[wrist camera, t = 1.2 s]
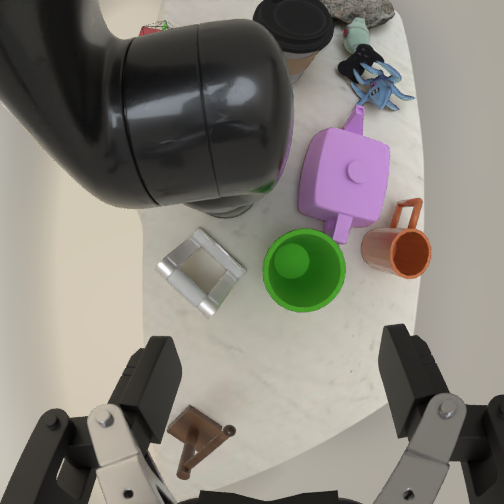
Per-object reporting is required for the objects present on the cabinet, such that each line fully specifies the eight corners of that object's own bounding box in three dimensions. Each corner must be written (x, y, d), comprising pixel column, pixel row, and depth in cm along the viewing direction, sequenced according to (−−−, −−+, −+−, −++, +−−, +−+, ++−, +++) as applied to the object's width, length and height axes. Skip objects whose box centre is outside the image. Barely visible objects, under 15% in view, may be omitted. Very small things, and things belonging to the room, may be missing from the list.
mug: (389, 273, 45) (422, 284, 35) (355, 261, 45) (383, 270, 35) (409, 209, 44) (445, 206, 34) (376, 194, 44) (408, 187, 34)
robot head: (361, 71, 42) (376, 51, 35) (336, 65, 42) (348, 45, 35) (359, 33, 42) (372, 12, 35) (336, 28, 41) (346, 6, 35)
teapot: (311, 113, 43) (328, 85, 33) (377, 133, 43) (407, 112, 33) (286, 233, 44) (299, 235, 34) (357, 249, 44) (386, 256, 34)
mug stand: (199, 446, 47) (189, 496, 34) (168, 426, 46) (150, 473, 34) (252, 398, 46) (254, 446, 34) (219, 374, 46) (211, 420, 33)
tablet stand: (246, 269, 44) (246, 279, 36) (208, 309, 45) (200, 327, 36) (200, 226, 44) (190, 227, 35) (163, 268, 44) (146, 277, 36)
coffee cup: (264, 38, 42) (270, -22, 27) (320, 59, 42) (346, 4, 27) (241, 83, 42) (239, 27, 27) (301, 106, 43) (324, 57, 28)
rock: (367, -23, 38) (399, -25, 31) (378, 21, 45) (410, 26, 38) (278, -11, 39) (300, -16, 32) (293, 37, 45) (318, 41, 38)
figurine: (397, 110, 44) (380, 141, 43) (340, 62, 42) (317, 89, 41) (432, 86, 35) (417, 118, 34) (367, 29, 33) (345, 55, 32)
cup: (269, 220, 44) (276, 217, 33) (330, 238, 44) (356, 242, 33) (250, 282, 45) (252, 300, 34) (311, 299, 45) (331, 321, 34)
